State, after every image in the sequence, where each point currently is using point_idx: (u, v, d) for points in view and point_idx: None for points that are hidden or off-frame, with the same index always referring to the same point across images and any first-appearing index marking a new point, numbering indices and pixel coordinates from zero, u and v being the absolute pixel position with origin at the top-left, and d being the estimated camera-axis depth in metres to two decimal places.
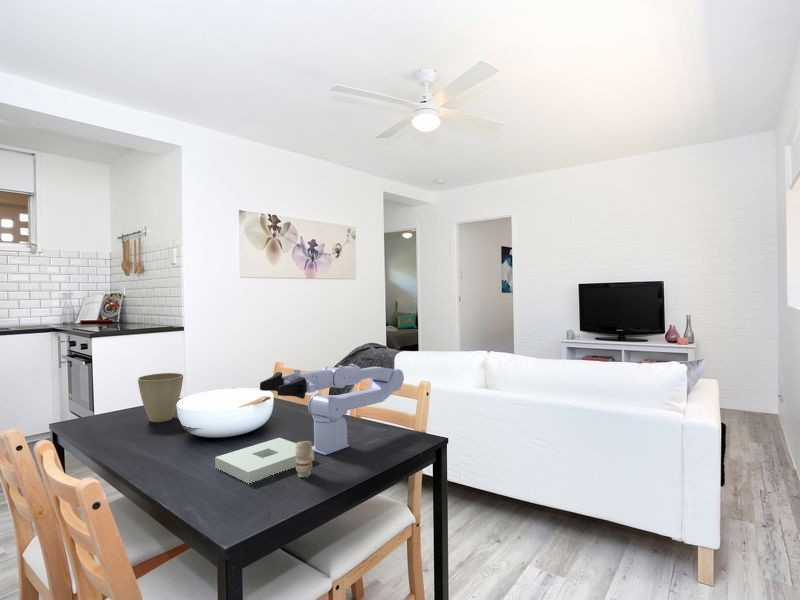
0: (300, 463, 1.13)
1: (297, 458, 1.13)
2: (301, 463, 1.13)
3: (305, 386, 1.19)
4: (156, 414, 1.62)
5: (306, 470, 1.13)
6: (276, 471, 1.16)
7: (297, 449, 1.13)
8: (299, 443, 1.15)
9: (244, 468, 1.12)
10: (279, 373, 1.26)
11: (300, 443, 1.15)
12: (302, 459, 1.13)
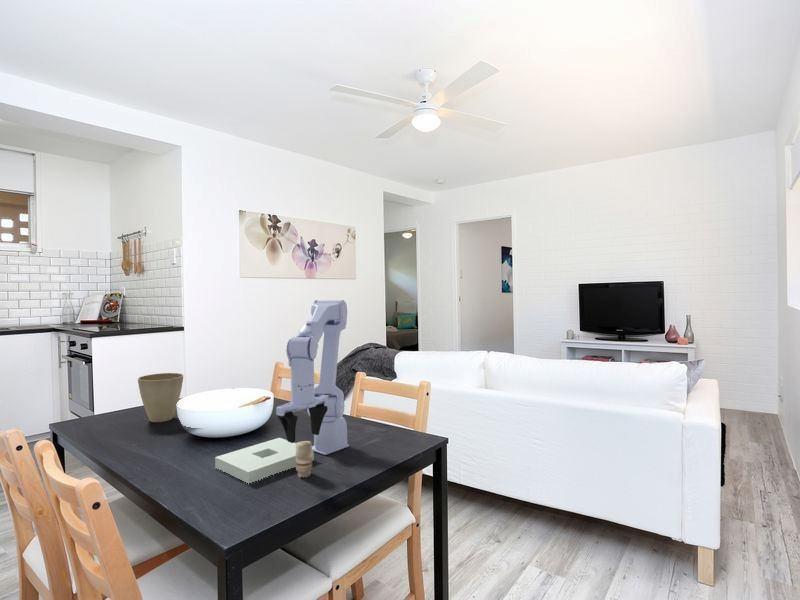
0: (300, 463, 1.13)
1: (297, 458, 1.13)
2: (301, 463, 1.13)
3: None
4: (156, 414, 1.62)
5: (306, 470, 1.13)
6: (276, 471, 1.16)
7: (297, 449, 1.13)
8: (299, 443, 1.15)
9: (244, 468, 1.12)
10: (295, 418, 1.09)
11: (300, 443, 1.15)
12: (302, 459, 1.13)
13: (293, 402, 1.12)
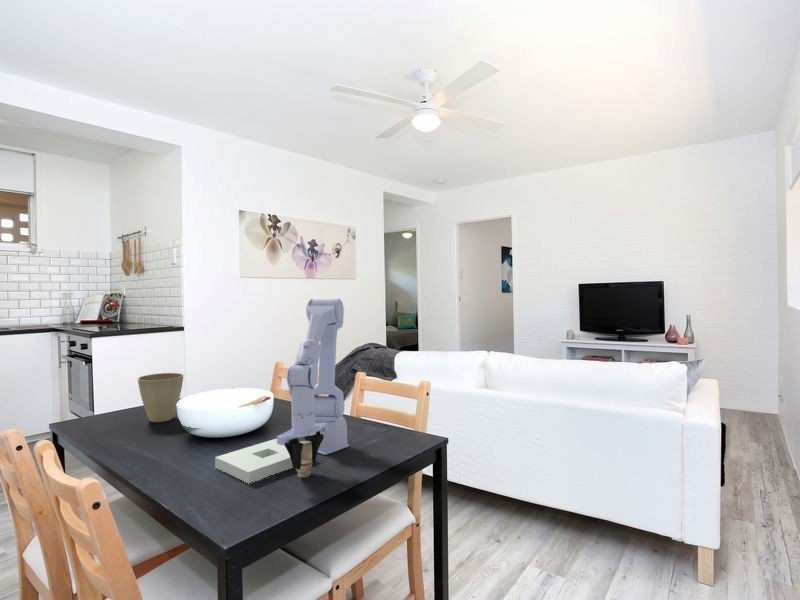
0: None
1: None
2: (301, 463, 1.13)
3: None
4: (156, 414, 1.62)
5: (306, 470, 1.13)
6: (276, 471, 1.16)
7: None
8: None
9: (244, 468, 1.12)
10: (300, 446, 1.11)
11: None
12: (302, 459, 1.13)
13: (294, 430, 1.12)
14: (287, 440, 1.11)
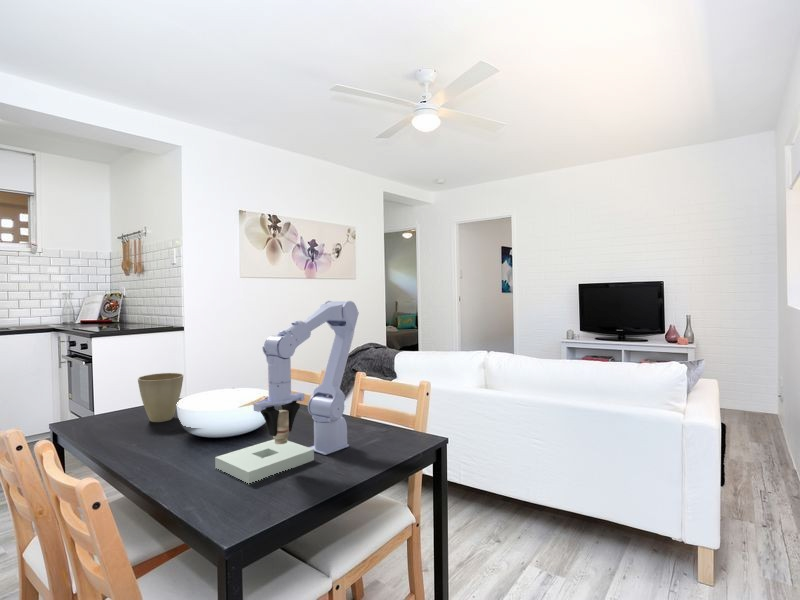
0: (277, 430, 1.17)
1: None
2: (278, 430, 1.17)
3: None
4: (156, 414, 1.62)
5: (283, 437, 1.17)
6: (276, 471, 1.16)
7: None
8: None
9: (244, 468, 1.12)
10: (276, 413, 1.15)
11: None
12: (279, 427, 1.17)
13: (270, 398, 1.17)
14: (263, 407, 1.15)
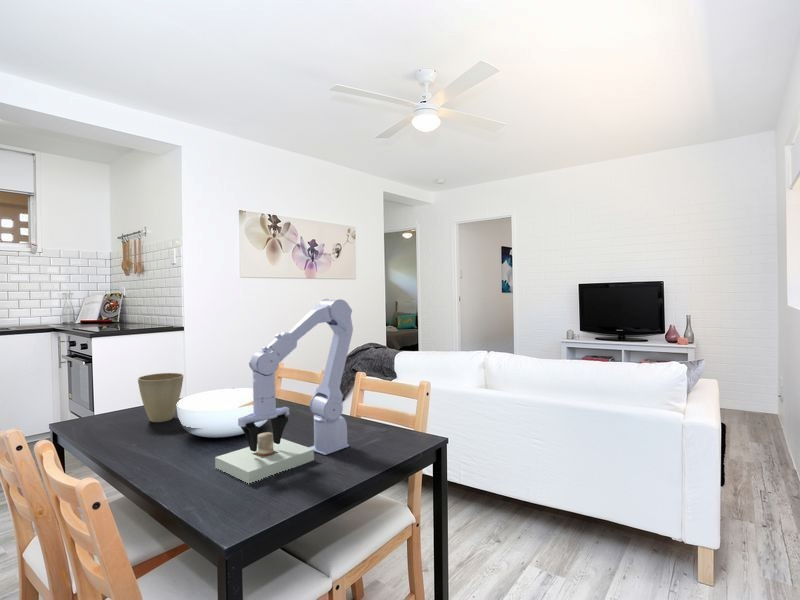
0: (261, 453, 1.20)
1: (259, 448, 1.21)
2: (262, 453, 1.20)
3: None
4: (156, 414, 1.62)
5: None
6: (276, 471, 1.16)
7: (259, 440, 1.21)
8: (261, 434, 1.22)
9: (244, 468, 1.12)
10: (256, 429, 1.17)
11: (262, 434, 1.22)
12: (263, 450, 1.20)
13: (255, 413, 1.20)
14: (248, 422, 1.18)
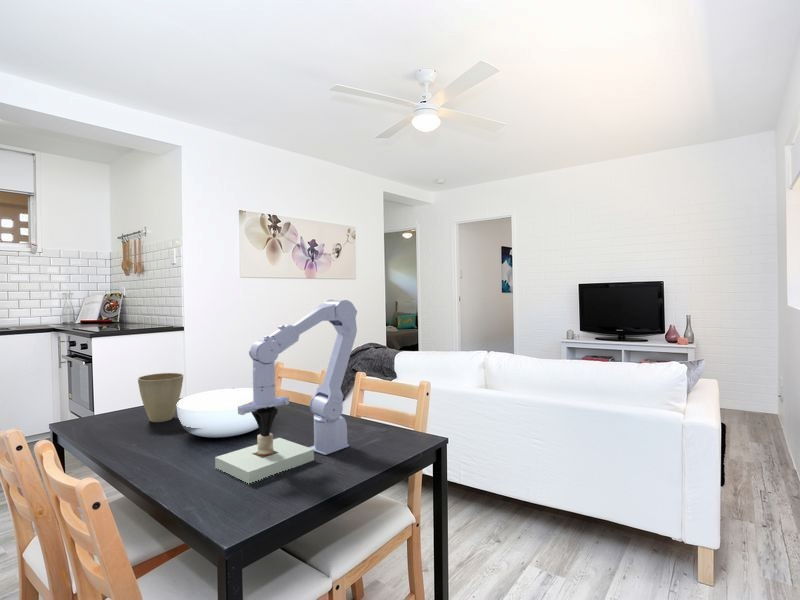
0: (261, 453, 1.20)
1: (258, 449, 1.21)
2: (262, 453, 1.20)
3: None
4: (156, 414, 1.62)
5: None
6: (276, 471, 1.16)
7: (258, 440, 1.21)
8: None
9: (244, 468, 1.12)
10: (267, 414, 1.20)
11: None
12: (263, 450, 1.20)
13: (254, 402, 1.20)
14: (248, 411, 1.18)
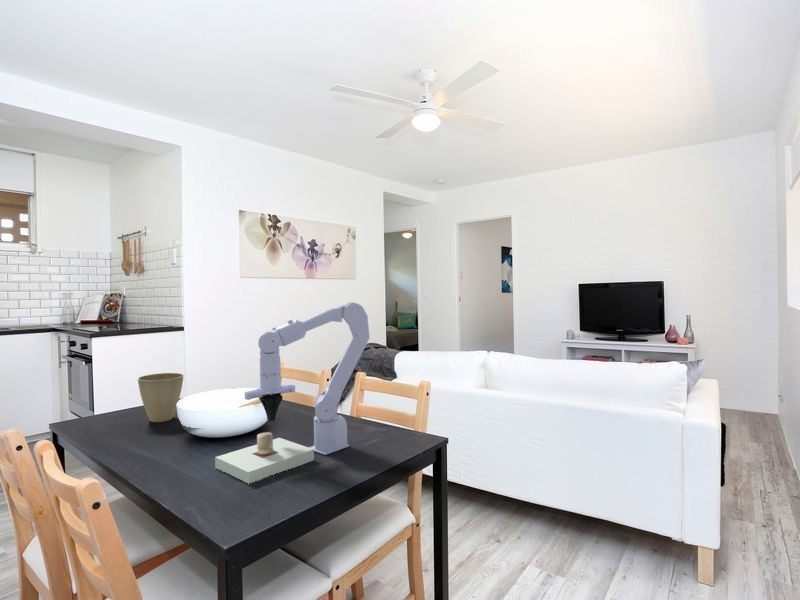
0: (261, 453, 1.20)
1: (258, 448, 1.21)
2: (262, 453, 1.20)
3: None
4: (156, 414, 1.62)
5: None
6: (276, 471, 1.16)
7: (258, 440, 1.20)
8: (260, 434, 1.22)
9: (244, 468, 1.12)
10: (271, 400, 1.28)
11: (261, 434, 1.22)
12: (263, 450, 1.20)
13: (261, 388, 1.29)
14: (253, 396, 1.27)
